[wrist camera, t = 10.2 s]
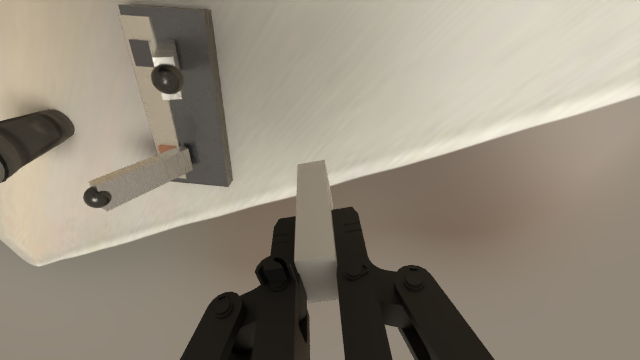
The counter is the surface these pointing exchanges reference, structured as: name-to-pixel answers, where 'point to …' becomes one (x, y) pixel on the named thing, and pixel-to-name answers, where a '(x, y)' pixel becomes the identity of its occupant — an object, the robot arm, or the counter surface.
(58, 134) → the beverage cup
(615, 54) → the counter surface
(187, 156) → the outer lever
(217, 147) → the switch base
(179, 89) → the inner lever
